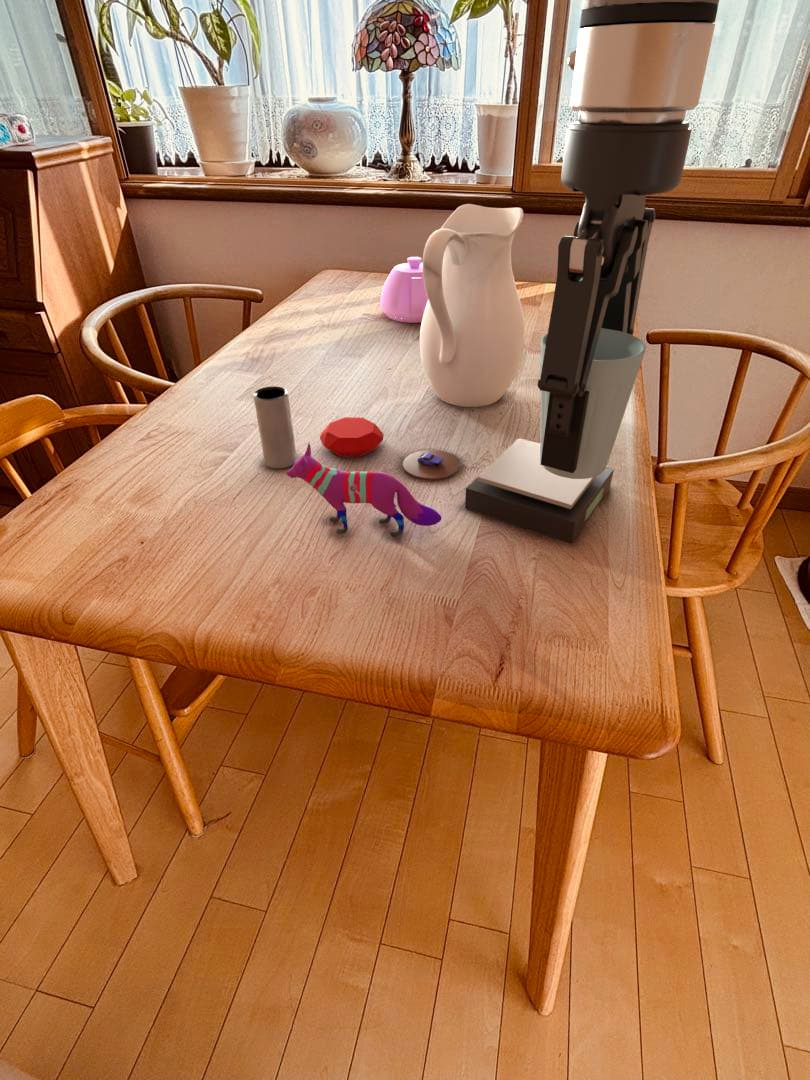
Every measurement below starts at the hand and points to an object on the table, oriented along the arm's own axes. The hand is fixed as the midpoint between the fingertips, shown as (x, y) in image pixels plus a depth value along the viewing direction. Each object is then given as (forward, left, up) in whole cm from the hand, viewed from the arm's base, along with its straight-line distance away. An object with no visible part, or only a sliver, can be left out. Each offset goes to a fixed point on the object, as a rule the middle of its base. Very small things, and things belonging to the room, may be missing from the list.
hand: (575, 446), depth 52 cm
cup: (0, 0, -2) cm, 2 cm away
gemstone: (+38, -18, -19) cm, 46 cm away
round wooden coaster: (+25, -19, -19) cm, 37 cm away
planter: (+44, -9, -19) cm, 49 cm away
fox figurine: (+24, -2, -19) cm, 31 cm away
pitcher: (+32, -40, -19) cm, 54 cm away
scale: (+9, -19, -19) cm, 28 cm away
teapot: (+64, -77, -19) cm, 102 cm away
